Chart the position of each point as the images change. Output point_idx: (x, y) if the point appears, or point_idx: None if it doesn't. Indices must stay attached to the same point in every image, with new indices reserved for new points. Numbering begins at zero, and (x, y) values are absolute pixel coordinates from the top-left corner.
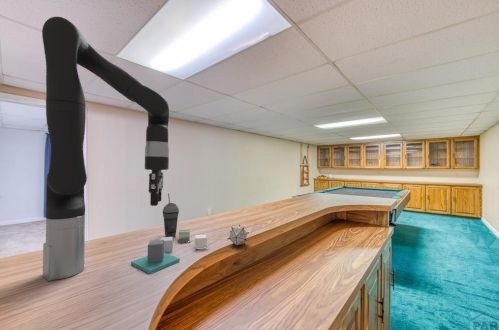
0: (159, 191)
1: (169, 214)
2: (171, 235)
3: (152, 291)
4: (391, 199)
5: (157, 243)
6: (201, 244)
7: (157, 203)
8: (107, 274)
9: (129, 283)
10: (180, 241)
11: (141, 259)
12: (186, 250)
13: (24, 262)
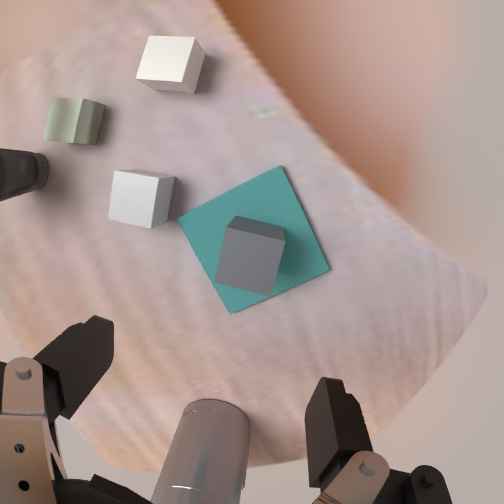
0: (61, 384)
1: None
2: (42, 168)
3: (419, 268)
4: None
5: (267, 259)
6: (195, 65)
7: (343, 387)
8: (270, 359)
9: (352, 314)
10: (95, 137)
11: (226, 286)
12: (185, 124)
13: (138, 457)
